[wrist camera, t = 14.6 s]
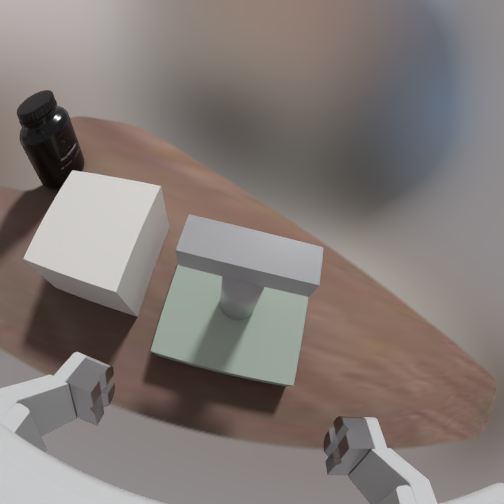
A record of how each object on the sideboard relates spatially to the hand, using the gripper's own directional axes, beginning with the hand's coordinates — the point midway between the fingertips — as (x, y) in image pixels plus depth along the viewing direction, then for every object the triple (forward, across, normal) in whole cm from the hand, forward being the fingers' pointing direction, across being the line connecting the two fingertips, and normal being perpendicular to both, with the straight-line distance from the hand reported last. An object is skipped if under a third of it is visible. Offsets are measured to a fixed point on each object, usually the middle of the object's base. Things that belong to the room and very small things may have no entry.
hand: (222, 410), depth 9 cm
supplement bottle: (+26, +27, -2) cm, 38 cm away
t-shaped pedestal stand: (+18, 0, +6) cm, 19 cm away
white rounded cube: (+19, +14, +4) cm, 24 cm away
